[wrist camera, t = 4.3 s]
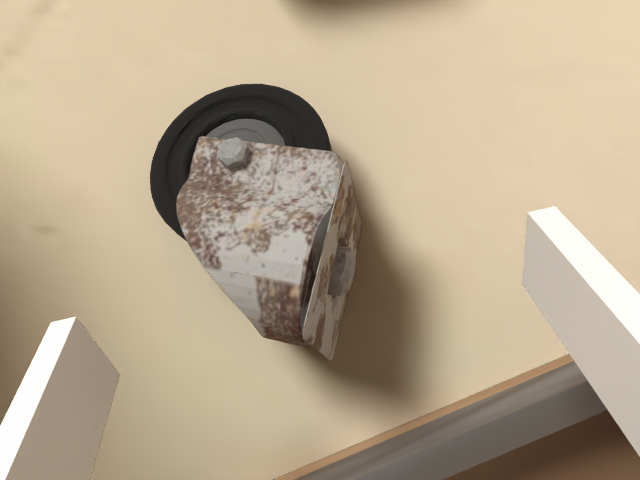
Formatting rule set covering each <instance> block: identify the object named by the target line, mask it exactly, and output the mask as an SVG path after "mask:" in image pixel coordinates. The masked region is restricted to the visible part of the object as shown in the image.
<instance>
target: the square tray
mask: <svg viewBox="0 0 640 480" xmlns="http://www.w3.org/2000/svg"><path fill="white" fill-rule="evenodd" d="M274 480H640V456H639V455H638V454H637V452H636V451H635V449H634V448H633V446H632V445H631V443H630V442H629V440H628V439H627V437H626V436H625V434H624V433H623V432H622V430H621V429H620V427H619V426H618V424H617V423H616V421H615V420H614V418H613V417H612V415H611V414H610V412H609V411H608V410H607V408H606V407H605V405H604V404H603V402H602V401H601V399H600V398H599V396H598V395H597V393H596V392H595V390H594V389H593V388H592V386H591V385H590V383H589V382H588V380H587V379H586V377H585V376H584V374H583V373H582V371H581V370H580V368H579V367H578V366H577V364H576V363H575V361H574V360H573V358H572V357H571V355H570V354H568V355H566V356H564V357H561V358H559V359H556V360H554V361H552V362H549V363H547V364H545V365H542V366H540V367H538V368H535V369H533V370H531V371H528V372H526V373H524V374H521V375H519V376H516V377H514V378H512V379H509V380H507V381H505V382H502V383H500V384H498V385H495V386H493V387H491V388H488V389H486V390H483V391H481V392H479V393H476V394H474V395H472V396H469V397H467V398H465V399H462V400H460V401H458V402H455V403H453V404H451V405H448V406H446V407H443V408H441V409H439V410H436V411H434V412H432V413H429V414H427V415H425V416H422V417H420V418H418V419H415V420H413V421H410V422H408V423H406V424H403V425H401V426H399V427H396V428H394V429H392V430H389V431H387V432H385V433H382V434H380V435H378V436H375V437H373V438H370V439H368V440H366V441H363V442H361V443H359V444H356V445H354V446H352V447H349V448H347V449H345V450H342V451H340V452H337V453H335V454H333V455H330V456H328V457H326V458H323V459H321V460H319V461H316V462H314V463H312V464H309V465H307V466H305V467H302V468H300V469H297V470H295V471H293V472H290V473H288V474H286V475H283V476H281V477H279V478H276V479H274Z"/></svg>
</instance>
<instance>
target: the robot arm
mask: <svg viewBox="0 0 640 480" xmlns="http://www.w3.org/2000/svg"><path fill="white" fill-rule="evenodd" d="M522 285H523V286H524V288H525V289H526V291H527V292H528V294H529V295H530V297H531V298H532V300H533V301H534V303H535V304H536V305H537V307H538V308H539V310H540V311H541V313H542V314H543V316H544V317H545V319H546V320H547V322H548V323H549V325H550V326H551V327H552V329H553V330H554V332H555V333H556V335H557V336H558V338H559V339H560V341H561V342H562V344H563V345H564V346H565V348H566V349H567V351H568V352H569V354H570V355H571V357H572V358H573V360H574V361H575V363H576V364H577V366H578V367H579V368H580V370H581V371H582V373H583V374H584V376H585V377H586V379H587V380H588V382H589V383H590V385H591V386H592V388H593V389H594V390H595V392H596V393H597V395H598V396H599V398H600V399H601V401H602V402H603V404H604V405H605V407H606V408H607V410H608V411H609V412H610V414H611V415H612V417H613V418H614V420H615V421H616V423H617V424H618V426H619V427H620V429H621V430H622V432H623V433H624V434H625V436H626V437H627V439H628V440H629V442H630V443H631V445H632V446H633V448H634V449H635V451H636V452H637V454H638V455H639V456H640V294H639V293H638V292H637V291H636V290H635V289H634V288H633V287H632V286H631V285H630V284H629V283H628V282H627V281H626V280H625V279H624V278H623V277H622V276H621V275H620V274H619V273H618V272H617V270H616V269H615V268H614V267H613V266H612V265H611V264H610V263H609V262H608V261H607V260H606V259H605V258H604V257H603V256H602V255H601V254H600V253H599V252H598V251H597V250H596V249H595V248H594V247H593V245H592V244H591V243H590V242H589V241H588V240H587V239H586V238H585V237H584V236H583V235H582V234H581V233H580V232H579V231H578V230H577V229H576V228H575V227H574V226H573V225H572V224H571V223H570V222H569V221H568V219H567V218H566V217H565V216H564V215H563V214H562V213H561V212H560V211H559V210H558V209H557V208H556V207H555V206H554V207H550V208H545V209H541V210H537V211H532V212H528V213H527V225H526V238H525V251H524V264H523V278H522ZM119 376H120V374H119V372H118V371H117V370H116V368H115V367H114V366H113V364H112V363H111V362H110V360H109V359H108V358H107V356H106V355H105V354H104V352H103V351H102V350H101V348H100V347H99V346H98V345H97V343H96V342H95V341H94V339H93V338H92V337H91V335H90V334H89V333H88V331H87V330H86V329H85V327H84V326H83V325H82V323H81V322H80V321H79V319H78V318H77V317H72V318H67V319H63V320H59V321H54V322H51V323H50V325H49V327H48V329H47V331H46V333H45V335H44V337H43V339H42V342H41V344H40V346H39V348H38V350H37V352H36V354H35V356H34V358H33V360H32V362H31V364H30V366H29V368H28V370H27V372H26V374H25V376H24V378H23V380H22V382H21V384H20V387H19V389H18V391H17V393H16V395H15V397H14V399H13V401H12V403H11V405H10V407H9V409H8V411H7V413H6V415H5V417H4V419H3V421H2V423H1V425H0V480H90V476H91V473H92V469H93V466H94V463H95V459H96V456H97V452H98V449H99V445H100V442H101V438H102V435H103V432H104V428H105V425H106V421H107V418H108V414H109V411H110V407H111V404H112V401H113V397H114V394H115V390H116V387H117V383H118V380H119Z"/></svg>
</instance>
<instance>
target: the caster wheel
mask: <svg viewBox="0 0 640 480" xmlns="http://www.w3.org/2000/svg"><path fill="white" fill-rule="evenodd" d="M150 186H151V194H152V198H153V201H154V204H155V206H156V209H157V211H158V212H159V214H160V215H161V217H162V218H163V220H164V221H165V222H166V223H167V224H168V225H169V226H170V227H171V228H172V229H173V230H174V231H175V232H176V233H177V234H178V235H179V236H181V237H182V238H183V239H185V240H186V241H187V242H188V244H189V245H190V247H191V249H192V251H193V253H194V254H195V255H196V257H197V258H198V260H199V261H200V263H201V264H202V266H203V267H204V268H205V270H206V271H207V272H208V273H209V275H210V276H211V277H212V278H213V280H214V281H215V282H216V283H217V284H218V286H219V287H220V288H221V289H222V290H223V291H224V292H225V294H226V295H227V296H228V297H229V298H230V299H231V300H232V301H233V302H234V303H235V304H236V306H237V307H238V308H239V309H240V310H241V311H242V312H243V313H244V314H245V315H246V316H247V318H248V319H249V320H250V321H251V323H252V324H253V325H254V327H255V328H256V329H257V331H258V332H259V333H260V334H261V335H262V336H263V337H265V338H268V339H272V340H277V341H281V342H285V343H290V344H294V345H299V346H303V347H309V346H313V347H314V348H315V349H317V350H318V351H319V352H320V353H321V354H323V355H324V356H325V357H326V358H327V359H329V360H330V361H332V359H333V357H334V354H335V349H336V345H337V340H338V336H339V331H340V327H341V322H342V318H343V313H344V309H345V304H346V300H347V295H348V291H349V290H350V288H351V286H352V283H353V279H354V274H355V267H356V255H357V250H358V246H359V241H360V236H361V231H362V225H361V220H360V216H359V211H358V207H357V202H356V198H355V193H354V189H353V184H352V180H351V175H350V171H349V166H348V162H347V160H346V162H345V163H343V162H342V161H341V159H340V158H339V157H338V156H337V154H336V153H335V152H332V149H331V145H330V141H329V137H328V134H327V131H326V129H325V127H324V124H323V122H322V120H321V118H320V117H319V115H318V114H317V112H316V111H315V110H314V108H313V107H312V106H311V105H310V104H309V103H308V102H306V101H305V100H304V99H303V98H301V97H300V96H298V95H296V94H294V93H292V92H291V91H288V90H285V89H282V88H280V87H276V86H271V85H265V84H241V85H236V86H231V87H226V88H224V89H221V90H218V91H216V92H213V93H211V94H208V95H206V96H204V97H203V98H201V99H199V100H198V101H196V102H195V103H193V104H192V105H190V106H189V107H188V108H186V109H185V110H184V111H183V112H182V113H181V114H180V115H179V116H178V117H177V118H176V119H175V120H174V121H173V122H172V123H171V125H170V126H169V127H168V128H167V130H166V131H165V133H164V135H163V136H162V138H161V140H160V141H159V143H158V146H157V148H156V151H155V154H154V157H153V160H152V165H151V172H150Z"/></svg>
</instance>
